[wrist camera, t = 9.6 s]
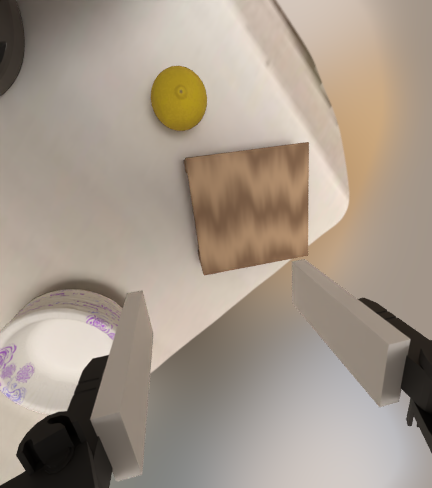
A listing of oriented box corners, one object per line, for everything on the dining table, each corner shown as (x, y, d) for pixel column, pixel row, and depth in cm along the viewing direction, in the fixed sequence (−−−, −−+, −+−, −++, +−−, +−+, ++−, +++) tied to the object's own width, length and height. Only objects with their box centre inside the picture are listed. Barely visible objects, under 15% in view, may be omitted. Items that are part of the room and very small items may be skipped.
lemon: (148, 82, 28) (141, 56, 20) (197, 77, 29) (208, 50, 21) (158, 136, 30) (155, 130, 22) (204, 130, 30) (216, 122, 23)
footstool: (185, 158, 27) (308, 142, 29) (183, 158, 31) (290, 143, 33) (203, 275, 32) (307, 255, 34) (199, 261, 36) (292, 244, 38)
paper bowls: (-4, 310, 33) (-52, 354, 26) (101, 258, 33) (83, 287, 26) (69, 383, 39) (46, 437, 31) (158, 338, 39) (156, 381, 32)
